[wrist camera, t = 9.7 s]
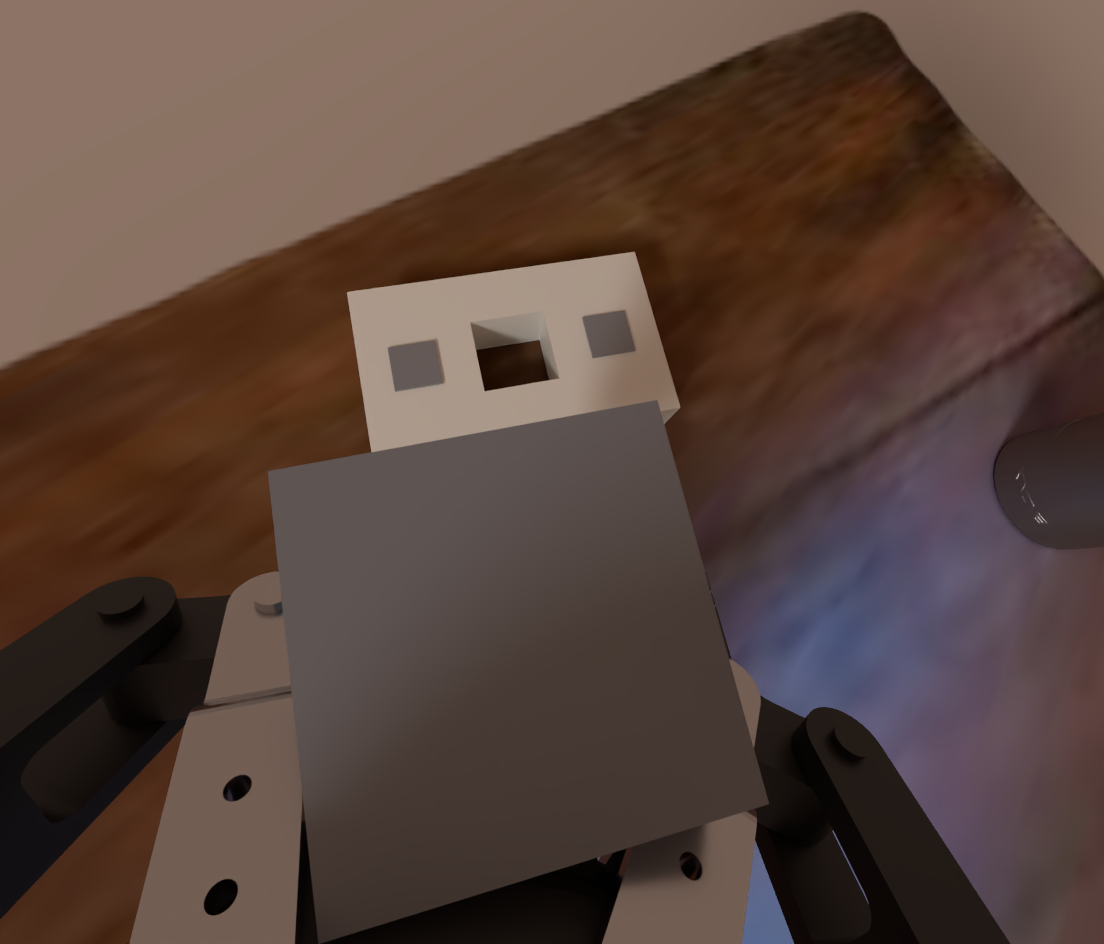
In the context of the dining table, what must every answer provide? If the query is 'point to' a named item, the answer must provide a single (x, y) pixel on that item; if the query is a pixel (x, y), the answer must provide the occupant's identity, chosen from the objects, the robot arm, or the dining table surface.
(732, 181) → the dining table surface
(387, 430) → the block
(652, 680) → the plug
